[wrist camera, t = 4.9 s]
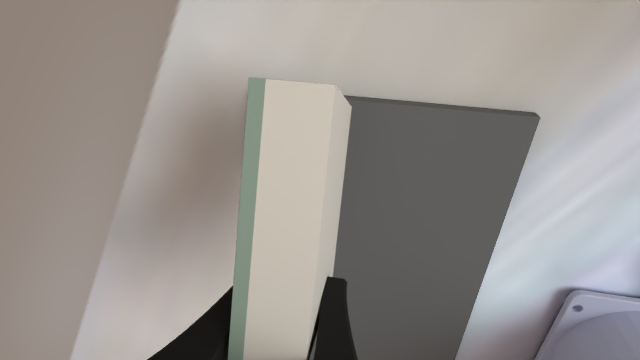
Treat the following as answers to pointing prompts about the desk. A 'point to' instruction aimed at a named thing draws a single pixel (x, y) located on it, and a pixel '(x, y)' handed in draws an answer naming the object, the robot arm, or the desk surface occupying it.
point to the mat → (422, 219)
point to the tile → (287, 216)
